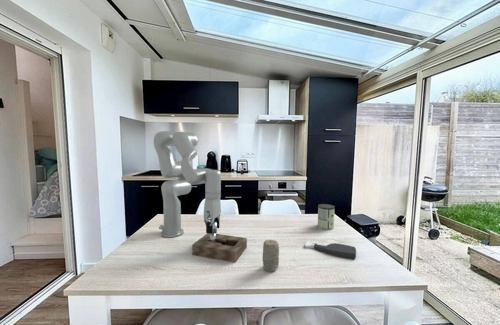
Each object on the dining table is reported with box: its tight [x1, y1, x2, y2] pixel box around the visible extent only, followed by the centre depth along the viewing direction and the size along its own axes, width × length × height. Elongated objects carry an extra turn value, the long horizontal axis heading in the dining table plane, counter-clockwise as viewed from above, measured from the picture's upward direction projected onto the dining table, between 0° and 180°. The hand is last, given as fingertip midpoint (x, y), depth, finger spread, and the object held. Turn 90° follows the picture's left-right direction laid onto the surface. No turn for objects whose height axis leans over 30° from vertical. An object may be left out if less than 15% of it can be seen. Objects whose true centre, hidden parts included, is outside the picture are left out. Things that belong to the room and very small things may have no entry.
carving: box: [262, 239, 280, 272], centre depth 97 cm, size 6×8×12 cm
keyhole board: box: [191, 233, 248, 263], centre depth 113 cm, size 22×16×5 cm
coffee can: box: [317, 203, 336, 231], centre depth 149 cm, size 10×10×14 cm
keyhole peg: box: [210, 221, 218, 242], centre depth 114 cm, size 6×6×14 cm
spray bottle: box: [304, 240, 357, 260], centre depth 116 cm, size 3×11×24 cm
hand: (212, 230), depth 114 cm, fingers open, 7 cm apart
